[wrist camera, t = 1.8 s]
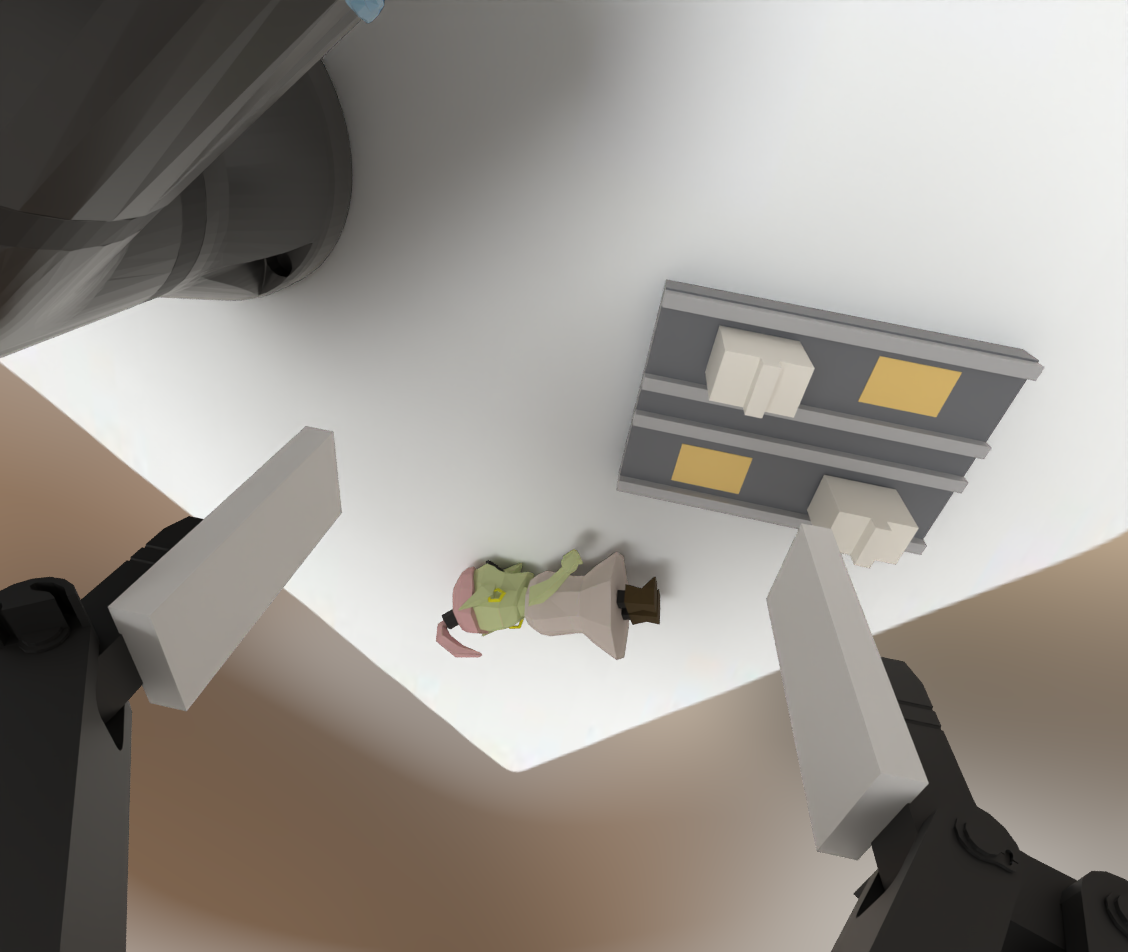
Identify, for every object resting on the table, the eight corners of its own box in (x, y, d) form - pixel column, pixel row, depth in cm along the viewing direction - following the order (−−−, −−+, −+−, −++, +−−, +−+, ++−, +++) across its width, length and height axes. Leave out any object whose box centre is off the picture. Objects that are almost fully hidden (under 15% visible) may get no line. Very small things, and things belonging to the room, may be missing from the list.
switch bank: (618, 472, 36) (616, 491, 34) (666, 279, 30) (666, 290, 28) (907, 533, 35) (919, 556, 34) (1023, 349, 29) (1046, 365, 27)
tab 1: (705, 371, 30) (709, 408, 27) (719, 325, 29) (726, 357, 25) (781, 387, 30) (796, 425, 26) (799, 341, 29) (818, 375, 25)
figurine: (651, 522, 36) (432, 527, 40) (646, 637, 32) (402, 630, 36) (665, 584, 43) (476, 583, 47) (662, 686, 38) (455, 676, 42)
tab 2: (806, 510, 34) (823, 558, 30) (824, 474, 32) (843, 521, 29) (876, 524, 33) (900, 575, 30) (896, 489, 32) (924, 538, 29)
